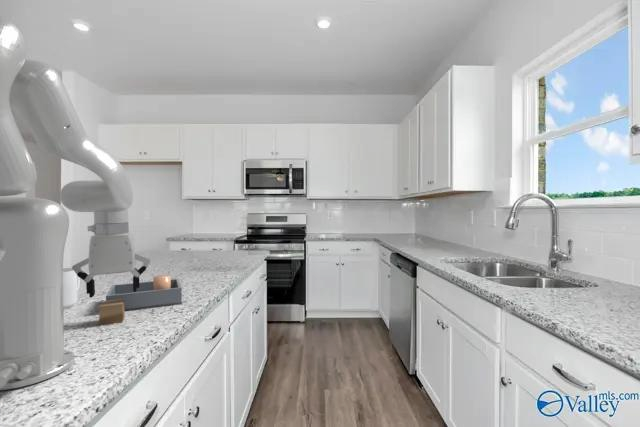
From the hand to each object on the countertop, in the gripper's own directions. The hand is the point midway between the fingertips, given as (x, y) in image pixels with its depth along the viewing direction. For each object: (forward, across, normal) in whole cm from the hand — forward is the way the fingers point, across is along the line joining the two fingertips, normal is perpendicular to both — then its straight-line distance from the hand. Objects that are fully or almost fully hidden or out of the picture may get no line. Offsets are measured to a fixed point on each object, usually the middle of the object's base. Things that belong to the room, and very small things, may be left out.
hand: (114, 293), depth 84 cm
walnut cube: (+7, 0, -1) cm, 7 cm away
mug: (+8, -16, +22) cm, 28 cm away
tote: (+8, +7, +14) cm, 17 cm away
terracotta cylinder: (+7, +12, +14) cm, 19 cm away
